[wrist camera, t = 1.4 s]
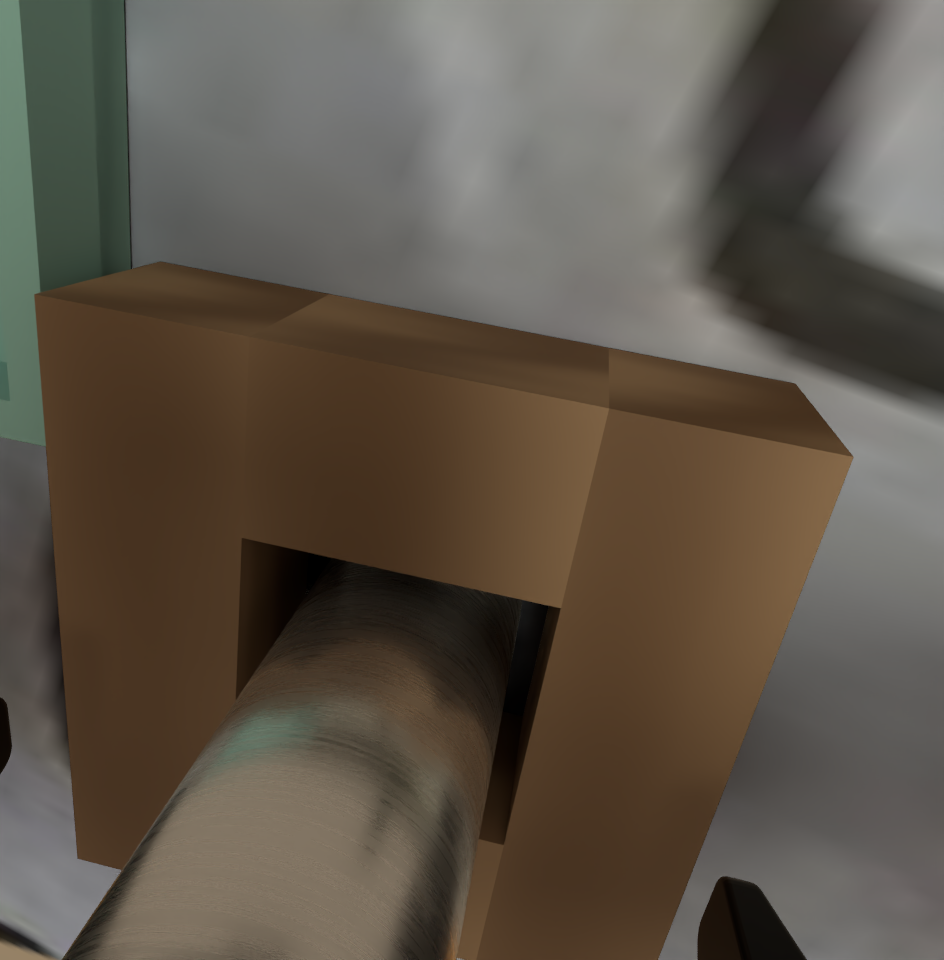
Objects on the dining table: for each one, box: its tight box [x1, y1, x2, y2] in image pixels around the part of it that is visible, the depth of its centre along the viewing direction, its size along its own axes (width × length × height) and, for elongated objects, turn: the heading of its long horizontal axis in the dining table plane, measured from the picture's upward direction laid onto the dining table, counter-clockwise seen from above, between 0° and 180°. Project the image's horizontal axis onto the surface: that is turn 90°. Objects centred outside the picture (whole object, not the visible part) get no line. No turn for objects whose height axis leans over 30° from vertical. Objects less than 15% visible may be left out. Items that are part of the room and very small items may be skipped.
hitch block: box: [34, 262, 853, 960], centre depth 13 cm, size 10×10×3 cm
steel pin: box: [62, 558, 522, 960], centre depth 10 cm, size 5×5×10 cm
